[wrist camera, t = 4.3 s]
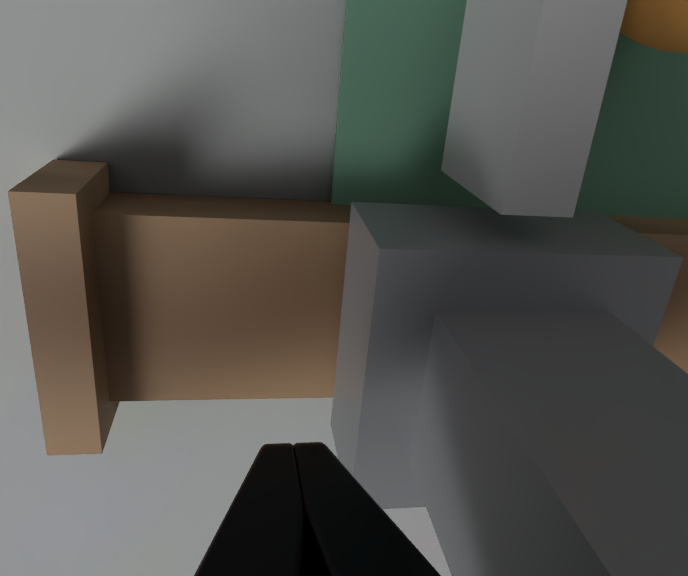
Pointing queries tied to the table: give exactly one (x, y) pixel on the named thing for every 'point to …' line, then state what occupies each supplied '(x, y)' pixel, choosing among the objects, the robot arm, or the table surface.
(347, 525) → the robot arm
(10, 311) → the table surface
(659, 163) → the pitch mat
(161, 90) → the table surface
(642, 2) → the ball
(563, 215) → the kicker
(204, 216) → the rail
